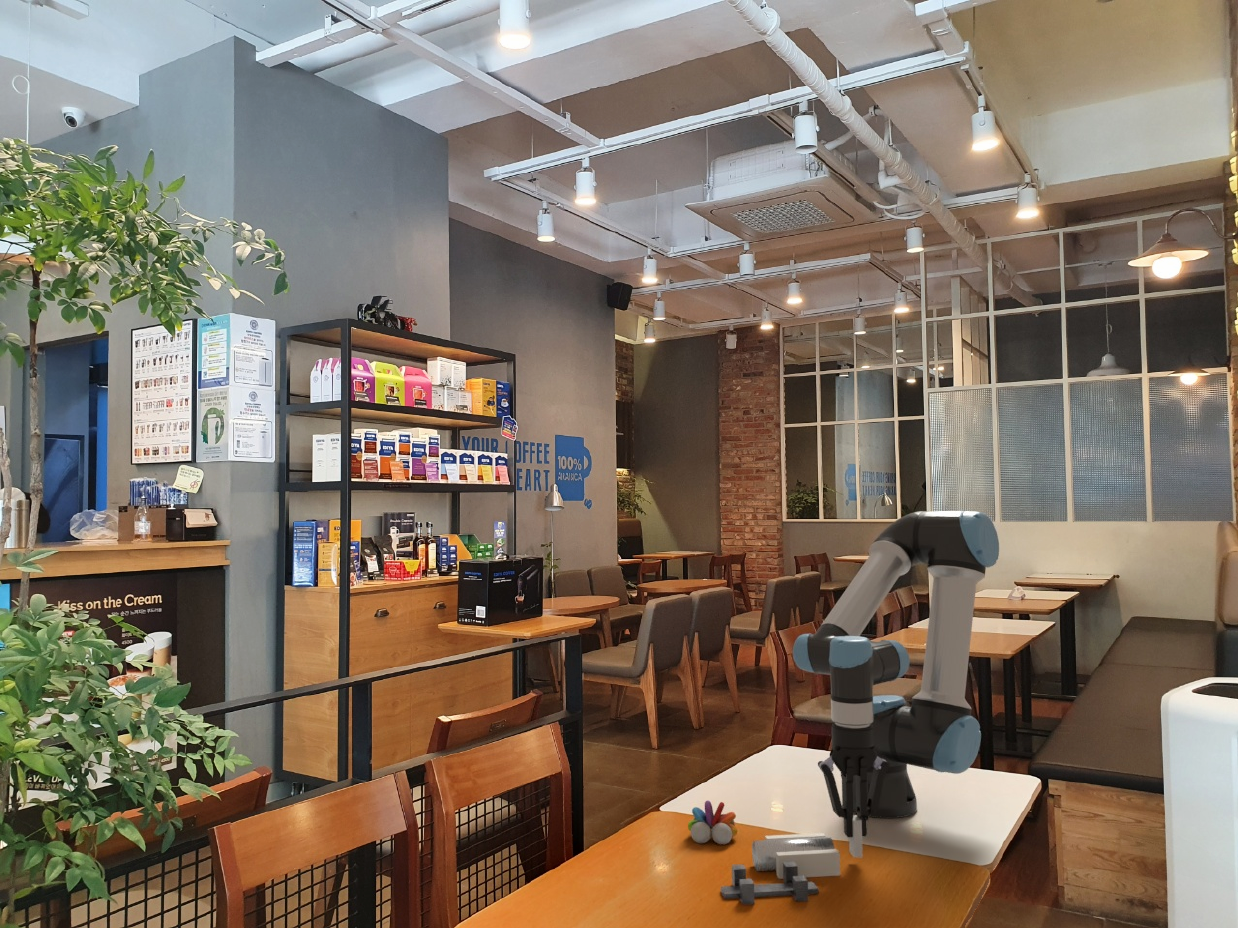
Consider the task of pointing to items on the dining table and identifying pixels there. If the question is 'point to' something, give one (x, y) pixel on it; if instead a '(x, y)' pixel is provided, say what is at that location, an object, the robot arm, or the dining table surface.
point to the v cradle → (768, 885)
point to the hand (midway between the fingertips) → (856, 854)
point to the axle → (784, 849)
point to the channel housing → (808, 858)
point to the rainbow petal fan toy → (712, 824)
